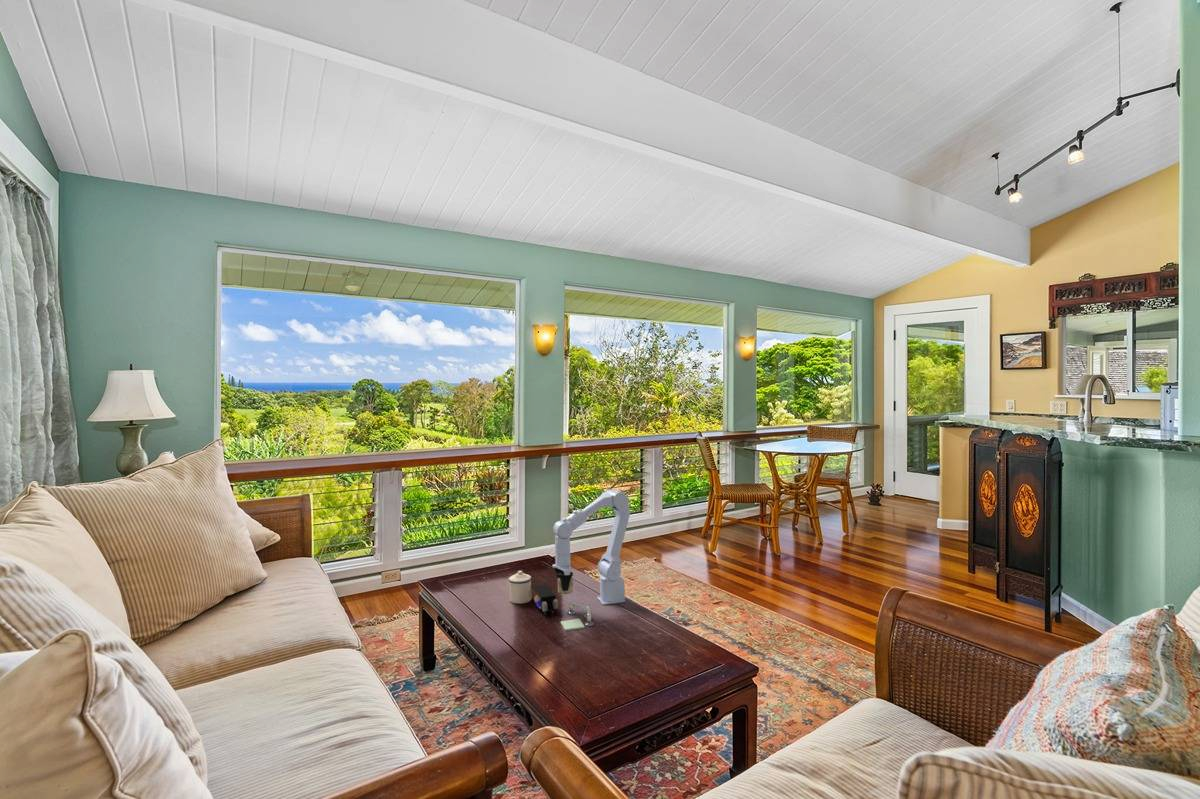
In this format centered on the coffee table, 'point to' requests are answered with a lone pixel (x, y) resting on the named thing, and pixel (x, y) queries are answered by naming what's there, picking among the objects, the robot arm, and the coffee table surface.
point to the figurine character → (545, 598)
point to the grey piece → (587, 615)
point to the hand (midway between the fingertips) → (563, 587)
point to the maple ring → (568, 589)
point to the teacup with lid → (520, 588)
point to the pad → (572, 624)
